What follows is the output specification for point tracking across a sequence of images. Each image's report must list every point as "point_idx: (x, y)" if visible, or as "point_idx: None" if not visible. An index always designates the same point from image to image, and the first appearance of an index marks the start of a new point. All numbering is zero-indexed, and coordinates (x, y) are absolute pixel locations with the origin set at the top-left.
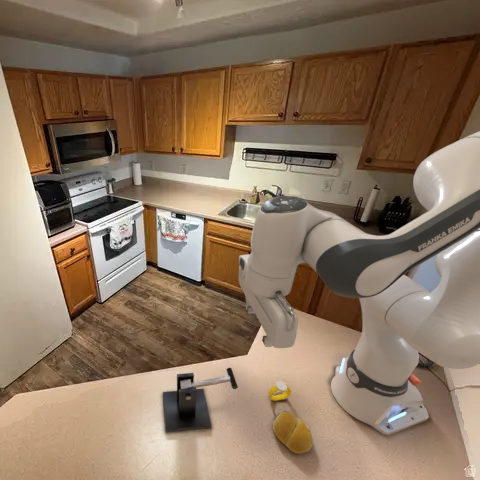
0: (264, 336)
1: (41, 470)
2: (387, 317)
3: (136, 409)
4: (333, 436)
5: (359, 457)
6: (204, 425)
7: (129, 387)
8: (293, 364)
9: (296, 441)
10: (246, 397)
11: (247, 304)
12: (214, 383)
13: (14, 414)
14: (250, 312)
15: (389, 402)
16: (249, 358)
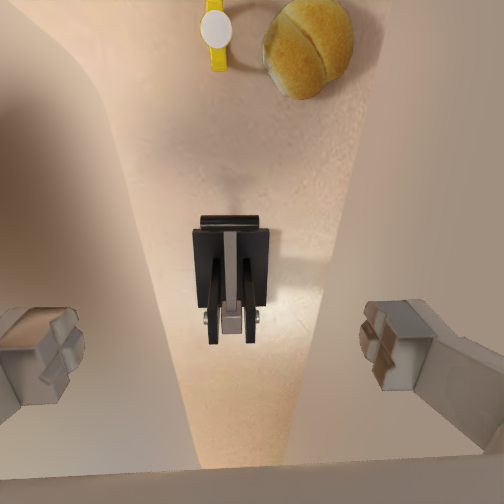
0: (393, 385)
1: (287, 427)
2: None
3: (224, 342)
4: None
5: None
6: (267, 244)
7: (184, 353)
8: None
9: (340, 58)
10: (212, 131)
11: (5, 419)
12: (236, 265)
13: (220, 465)
14: (76, 344)
15: None
16: (91, 73)
